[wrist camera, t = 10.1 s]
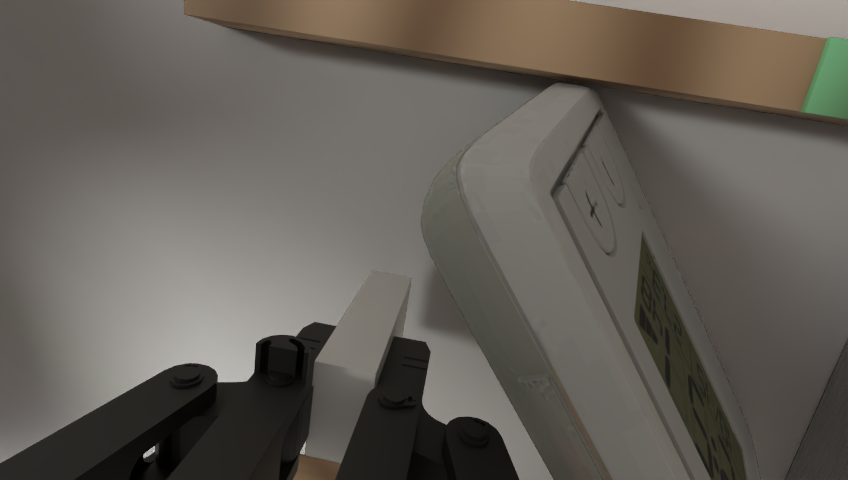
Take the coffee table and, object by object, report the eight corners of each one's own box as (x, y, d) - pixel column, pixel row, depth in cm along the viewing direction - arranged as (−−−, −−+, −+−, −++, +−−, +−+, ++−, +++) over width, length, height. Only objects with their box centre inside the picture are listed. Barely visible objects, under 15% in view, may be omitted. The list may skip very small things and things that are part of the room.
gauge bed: (207, 469, 23) (173, 514, 21) (226, -35, 17) (181, -59, 15) (805, 602, 22) (849, 669, 19) (1065, 92, 15) (1184, 89, 13)
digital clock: (738, 445, 20) (1005, 797, 10) (524, 481, 22) (562, 815, 12) (667, 47, 16) (972, -48, 6) (415, 127, 18) (331, 155, 8)
